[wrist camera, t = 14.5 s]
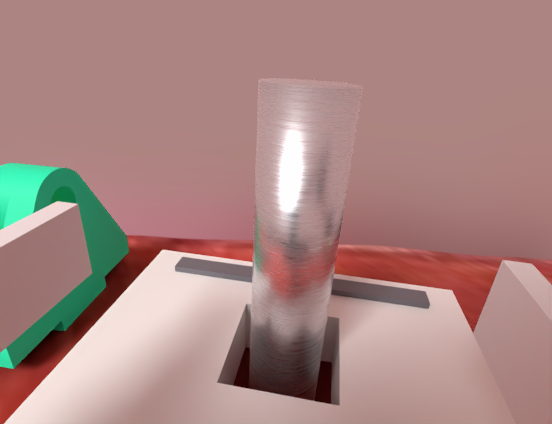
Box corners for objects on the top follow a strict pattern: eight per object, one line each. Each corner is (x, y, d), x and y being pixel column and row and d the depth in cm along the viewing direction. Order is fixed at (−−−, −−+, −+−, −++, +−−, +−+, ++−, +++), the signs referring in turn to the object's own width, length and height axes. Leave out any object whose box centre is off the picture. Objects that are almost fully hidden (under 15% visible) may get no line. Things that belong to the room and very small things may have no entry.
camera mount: (48, 252, 30) (17, 136, 26) (130, 262, 29) (113, 145, 25) (-106, 363, 19) (-204, 194, 15) (19, 383, 19) (-45, 212, 14)
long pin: (327, 411, 18) (385, 89, 11) (263, 438, 16) (286, 87, 10) (295, 359, 21) (326, 79, 14) (239, 378, 19) (243, 77, 13)
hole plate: (438, 331, 24) (453, 285, 22) (551, 641, 11) (607, 588, 9) (166, 288, 26) (162, 244, 25) (8, 502, 14) (-23, 442, 12)
